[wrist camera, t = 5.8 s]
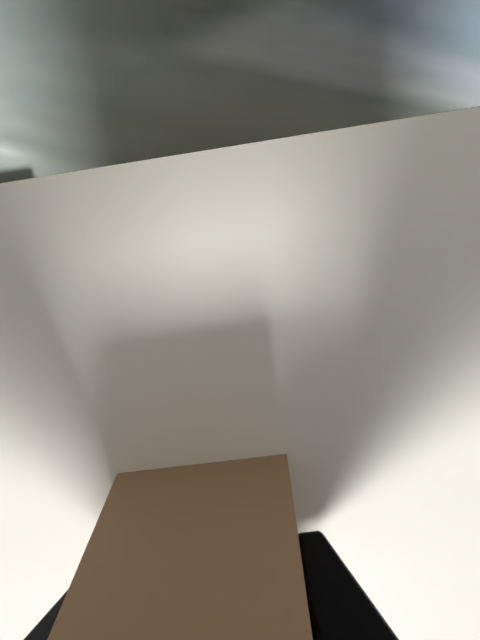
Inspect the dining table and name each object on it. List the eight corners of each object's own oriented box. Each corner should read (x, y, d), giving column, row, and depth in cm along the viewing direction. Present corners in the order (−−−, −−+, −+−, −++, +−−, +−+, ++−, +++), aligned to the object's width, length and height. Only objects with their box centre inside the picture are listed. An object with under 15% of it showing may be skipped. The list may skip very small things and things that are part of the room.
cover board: (529, 692, 10) (700, 1006, 6) (9, 733, 11) (-117, 1035, 7) (598, 89, 6) (1222, -48, 2) (-254, 226, 7) (-905, 302, 3)
